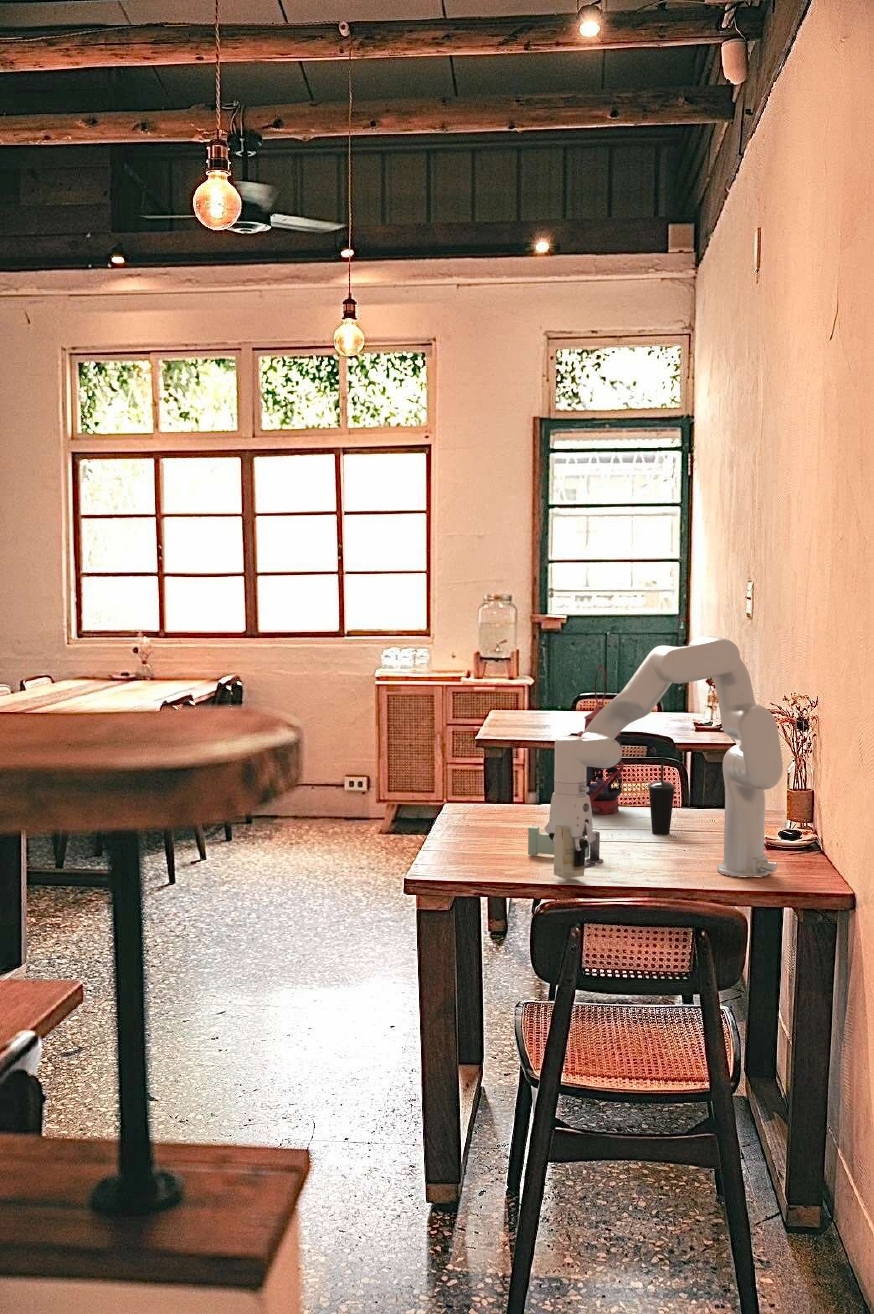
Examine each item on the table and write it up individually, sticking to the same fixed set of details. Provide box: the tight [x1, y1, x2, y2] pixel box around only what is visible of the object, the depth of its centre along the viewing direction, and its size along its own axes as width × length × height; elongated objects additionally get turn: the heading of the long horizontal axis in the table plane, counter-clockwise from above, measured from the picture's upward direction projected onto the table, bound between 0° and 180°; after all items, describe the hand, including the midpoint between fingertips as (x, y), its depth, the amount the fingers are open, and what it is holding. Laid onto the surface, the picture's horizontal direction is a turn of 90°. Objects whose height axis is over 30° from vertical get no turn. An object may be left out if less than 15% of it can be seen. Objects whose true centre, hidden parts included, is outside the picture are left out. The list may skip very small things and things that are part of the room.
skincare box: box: [553, 825, 585, 879], centre depth 289 cm, size 6×4×12 cm
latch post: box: [584, 863, 596, 869], centre depth 299 cm, size 3×14×7 cm, turn 134°
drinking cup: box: [647, 762, 677, 836], centre depth 342 cm, size 8×8×20 cm
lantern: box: [576, 664, 625, 816], centre depth 372 cm, size 16×15×45 cm
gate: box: [527, 825, 590, 859], centre depth 312 cm, size 16×2×7 cm, turn 69°
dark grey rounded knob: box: [585, 830, 604, 864], centre depth 308 cm, size 4×4×8 cm
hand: (569, 863), depth 289 cm, fingers closed on skincare box, 5 cm apart
